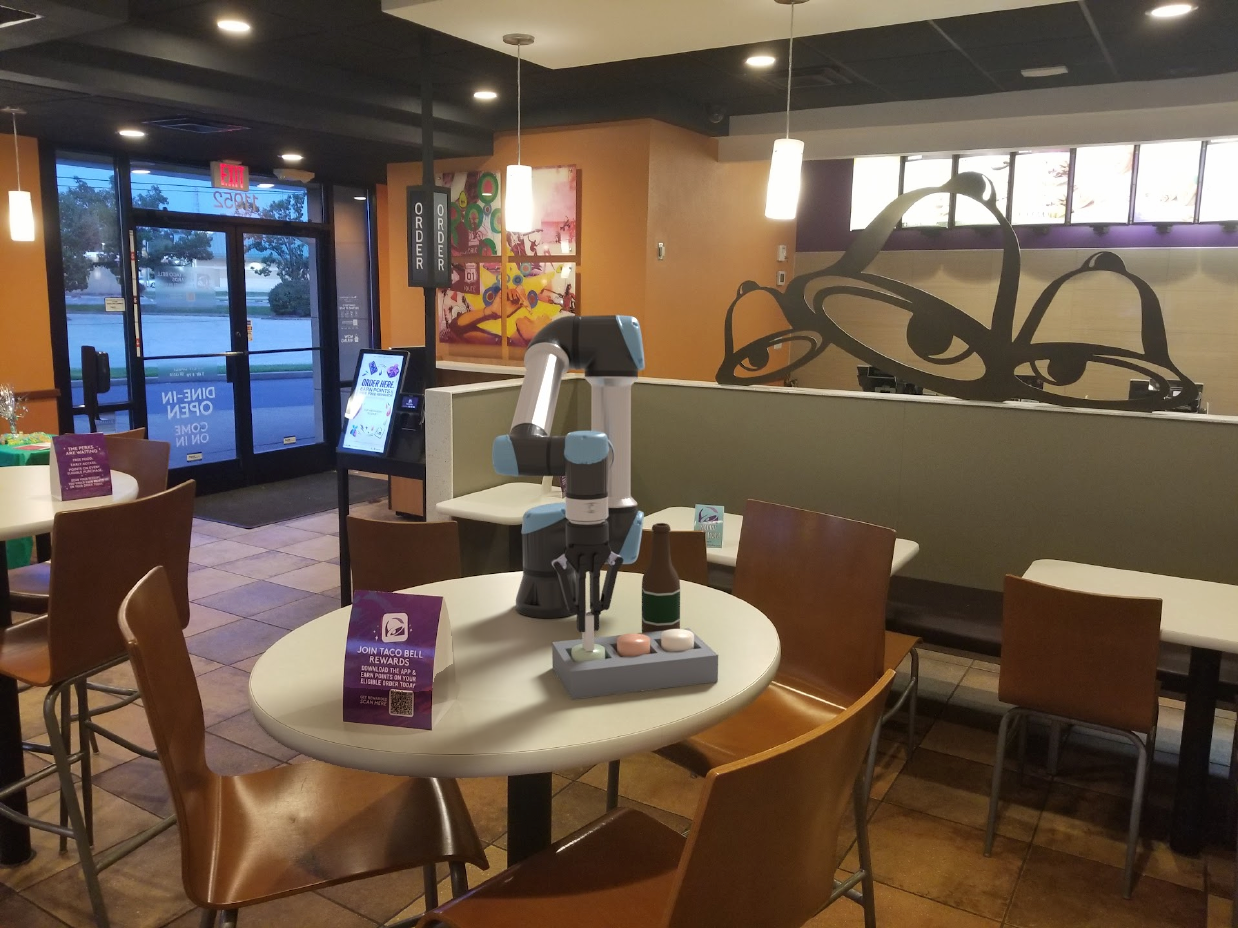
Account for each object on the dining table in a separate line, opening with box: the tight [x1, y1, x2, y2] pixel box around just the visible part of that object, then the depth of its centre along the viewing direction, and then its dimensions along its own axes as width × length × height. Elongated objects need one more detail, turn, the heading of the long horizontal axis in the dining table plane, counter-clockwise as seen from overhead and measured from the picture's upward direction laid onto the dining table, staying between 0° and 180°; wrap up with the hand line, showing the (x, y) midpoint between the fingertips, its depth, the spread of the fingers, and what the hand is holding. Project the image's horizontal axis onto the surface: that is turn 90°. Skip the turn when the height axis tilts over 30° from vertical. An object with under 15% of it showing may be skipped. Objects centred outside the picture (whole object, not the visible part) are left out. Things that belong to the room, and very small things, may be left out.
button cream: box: [661, 628, 694, 652], centre depth 174 cm, size 6×6×4 cm
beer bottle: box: [641, 522, 681, 633], centre depth 188 cm, size 8×8×24 cm
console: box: [551, 627, 719, 700], centre depth 172 cm, size 15×27×5 cm, turn 106°
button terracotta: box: [617, 632, 650, 657], centre depth 172 cm, size 6×6×4 cm
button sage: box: [572, 644, 605, 662], centre depth 169 cm, size 6×6×4 cm
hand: (588, 648), depth 169 cm, fingers closed
